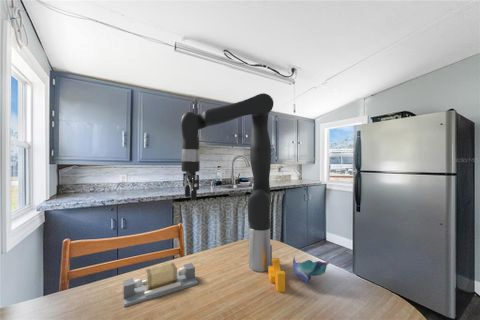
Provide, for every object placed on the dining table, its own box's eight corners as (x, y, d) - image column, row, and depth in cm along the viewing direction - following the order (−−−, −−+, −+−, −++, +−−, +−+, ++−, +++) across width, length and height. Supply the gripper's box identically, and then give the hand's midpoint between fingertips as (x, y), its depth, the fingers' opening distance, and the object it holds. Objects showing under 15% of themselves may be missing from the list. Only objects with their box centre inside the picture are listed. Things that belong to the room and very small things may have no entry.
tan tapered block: (147, 292, 71) (147, 275, 71) (145, 285, 75) (145, 269, 75) (176, 283, 77) (177, 268, 77) (173, 277, 80) (174, 262, 80)
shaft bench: (189, 271, 86) (189, 259, 86) (197, 284, 78) (197, 270, 78) (122, 290, 74) (123, 276, 74) (124, 307, 65) (124, 291, 65)
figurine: (332, 284, 78) (332, 260, 78) (315, 297, 71) (315, 271, 71) (302, 270, 88) (302, 249, 88) (284, 279, 81) (284, 256, 81)
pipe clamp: (268, 273, 86) (268, 257, 86) (278, 273, 86) (278, 258, 86) (272, 292, 74) (272, 273, 74) (284, 292, 74) (285, 273, 74)
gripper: (177, 160, 93) (177, 196, 93) (187, 160, 81) (186, 202, 81) (193, 160, 97) (193, 195, 97) (205, 160, 84) (205, 200, 84)
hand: (190, 198), depth 89 cm, fingers open, 8 cm apart
